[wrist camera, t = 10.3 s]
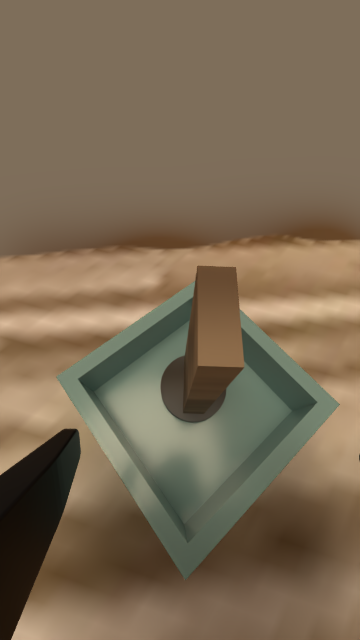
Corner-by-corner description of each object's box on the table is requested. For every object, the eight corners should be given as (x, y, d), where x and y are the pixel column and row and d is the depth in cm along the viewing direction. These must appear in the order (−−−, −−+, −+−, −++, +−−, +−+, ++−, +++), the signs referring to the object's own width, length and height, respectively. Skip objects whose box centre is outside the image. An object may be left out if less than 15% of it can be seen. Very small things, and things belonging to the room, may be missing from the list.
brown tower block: (225, 423, 20) (301, 384, 8) (159, 421, 20) (141, 379, 8) (222, 360, 22) (278, 258, 10) (162, 358, 22) (153, 253, 10)
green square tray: (304, 414, 21) (339, 404, 17) (181, 546, 17) (185, 580, 13) (198, 305, 26) (203, 274, 21) (80, 392, 22) (56, 376, 17)
